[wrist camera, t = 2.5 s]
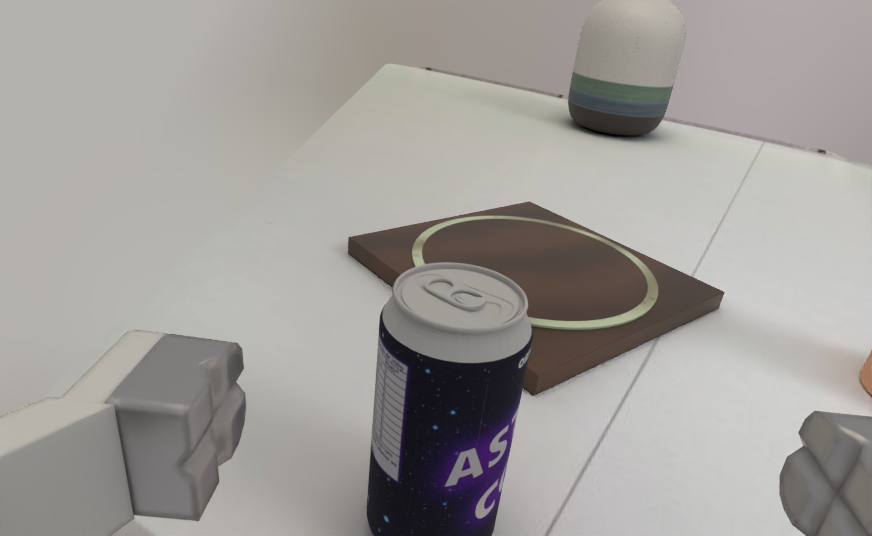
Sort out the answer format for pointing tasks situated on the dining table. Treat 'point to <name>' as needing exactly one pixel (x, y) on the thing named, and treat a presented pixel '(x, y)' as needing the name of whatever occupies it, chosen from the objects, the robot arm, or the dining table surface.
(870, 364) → the pepper shaker
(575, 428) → the dining table surface
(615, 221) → the dining table surface
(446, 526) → the beverage can
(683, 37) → the vase
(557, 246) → the brown flat square board
